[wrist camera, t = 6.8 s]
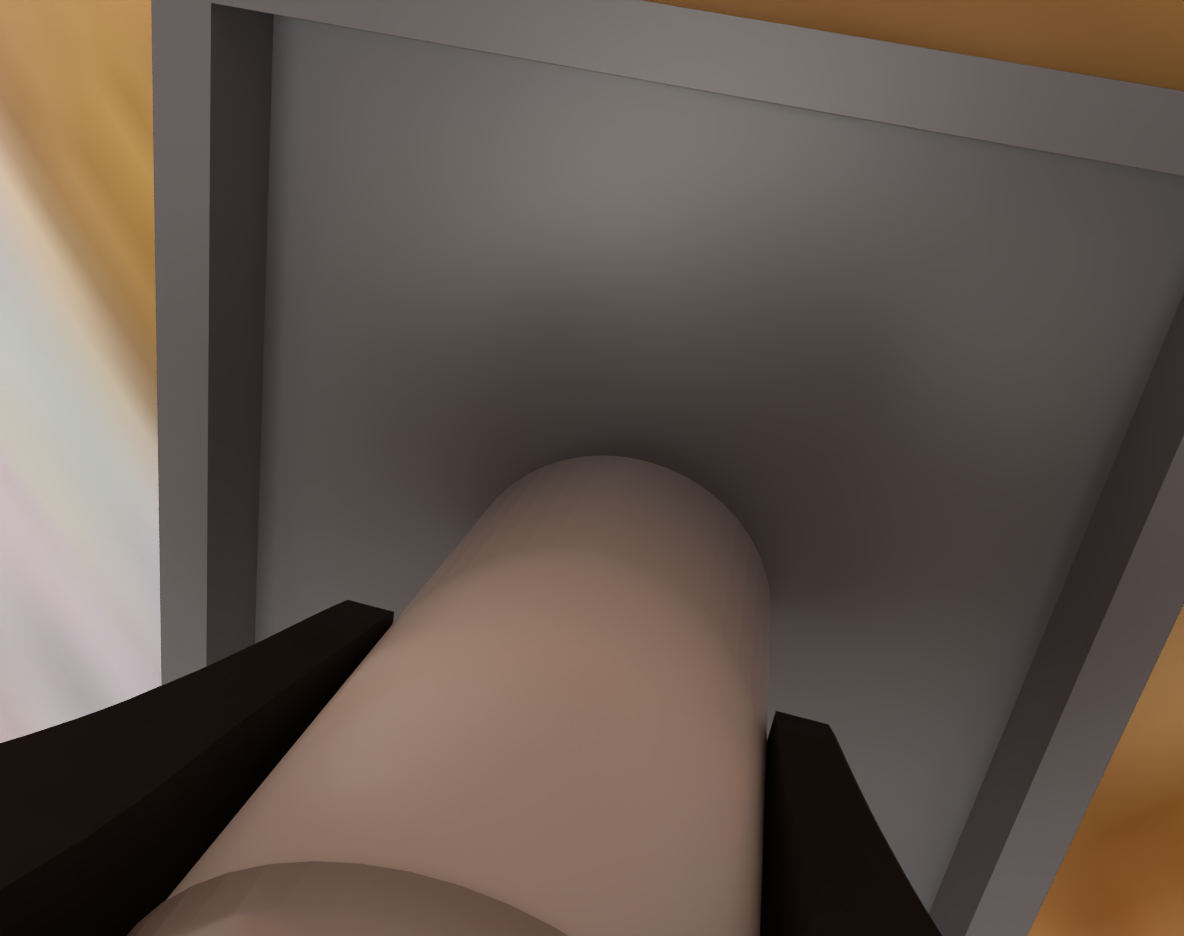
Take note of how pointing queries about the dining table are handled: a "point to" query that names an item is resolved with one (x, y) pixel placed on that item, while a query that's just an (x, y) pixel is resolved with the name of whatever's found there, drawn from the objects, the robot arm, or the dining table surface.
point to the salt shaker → (529, 738)
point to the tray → (696, 359)
